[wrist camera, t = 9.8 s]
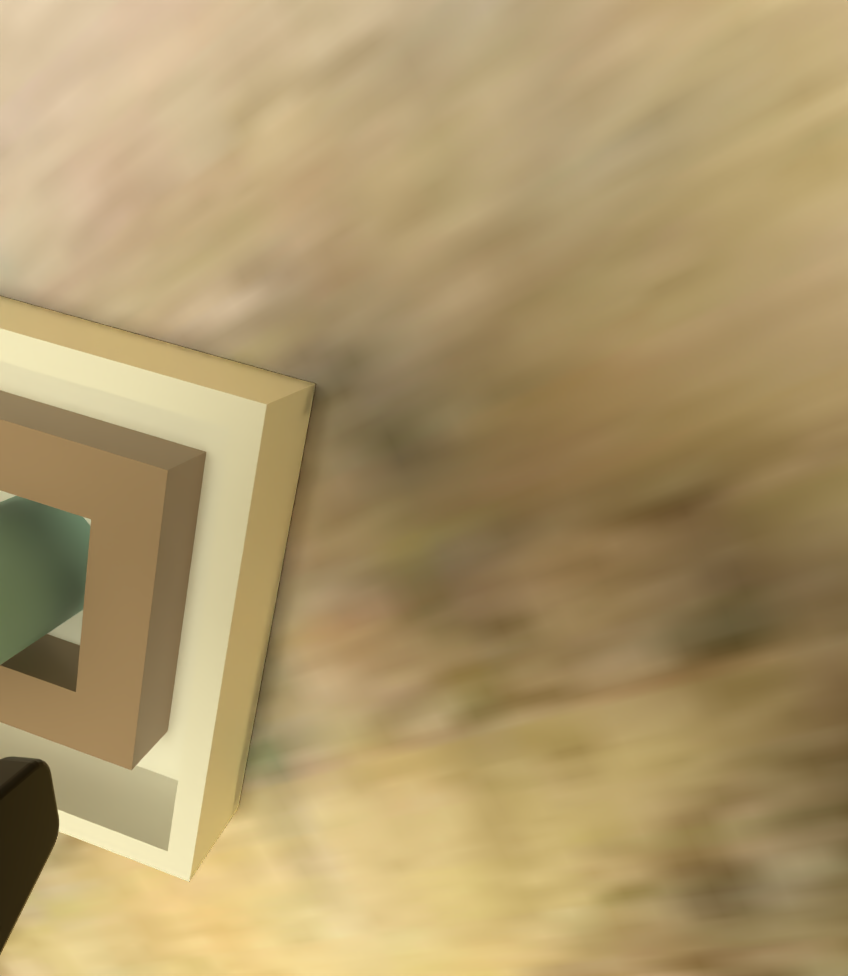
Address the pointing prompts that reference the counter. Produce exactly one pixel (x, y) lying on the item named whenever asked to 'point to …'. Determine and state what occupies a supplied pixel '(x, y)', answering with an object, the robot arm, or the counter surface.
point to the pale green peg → (39, 571)
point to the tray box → (147, 573)
